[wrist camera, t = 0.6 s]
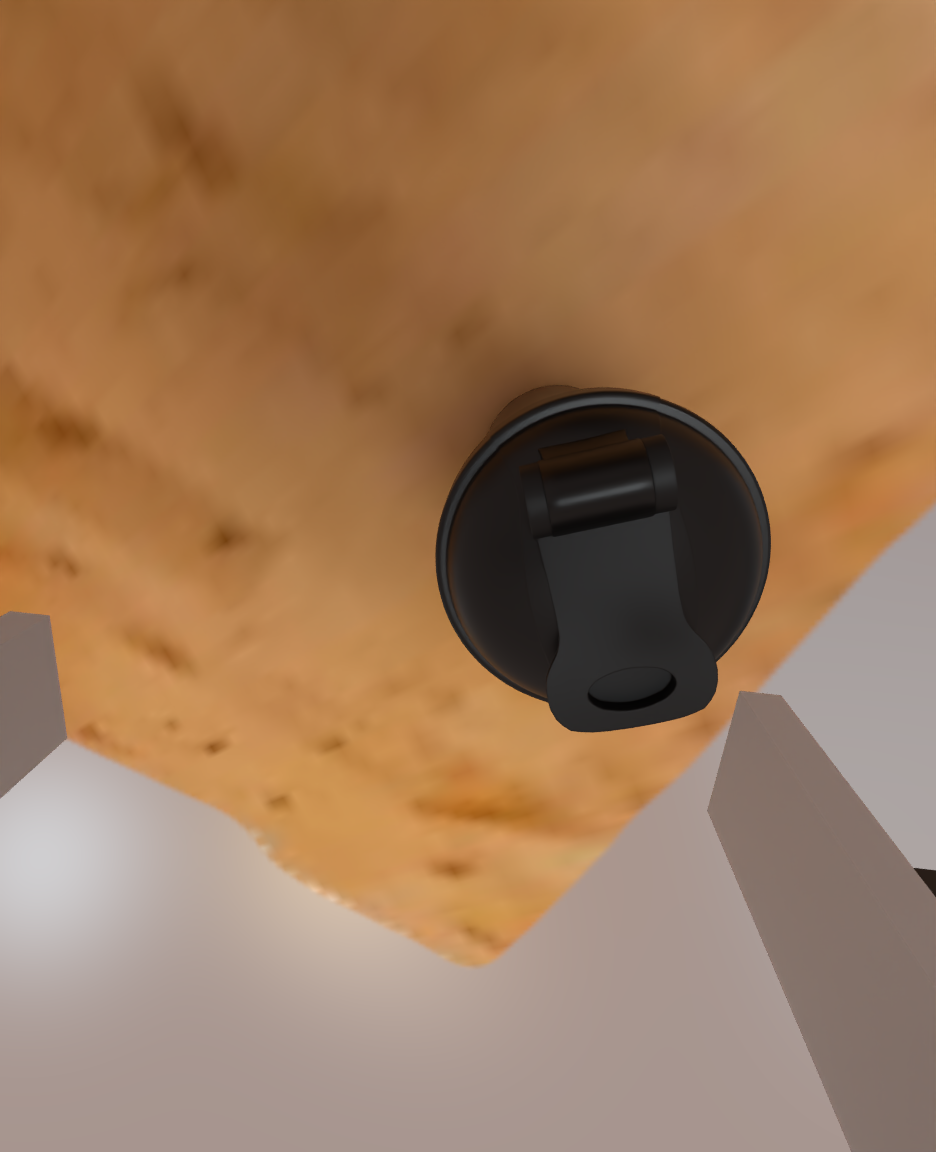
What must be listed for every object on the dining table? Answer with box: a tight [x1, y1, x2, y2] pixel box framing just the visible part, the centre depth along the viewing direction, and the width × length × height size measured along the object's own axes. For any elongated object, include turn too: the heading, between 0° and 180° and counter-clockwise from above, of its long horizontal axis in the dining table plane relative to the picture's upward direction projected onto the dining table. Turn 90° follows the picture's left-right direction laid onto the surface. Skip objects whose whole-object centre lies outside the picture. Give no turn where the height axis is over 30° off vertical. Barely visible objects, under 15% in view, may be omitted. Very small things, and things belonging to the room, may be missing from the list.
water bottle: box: [435, 385, 771, 732], centre depth 28 cm, size 10×10×23 cm
